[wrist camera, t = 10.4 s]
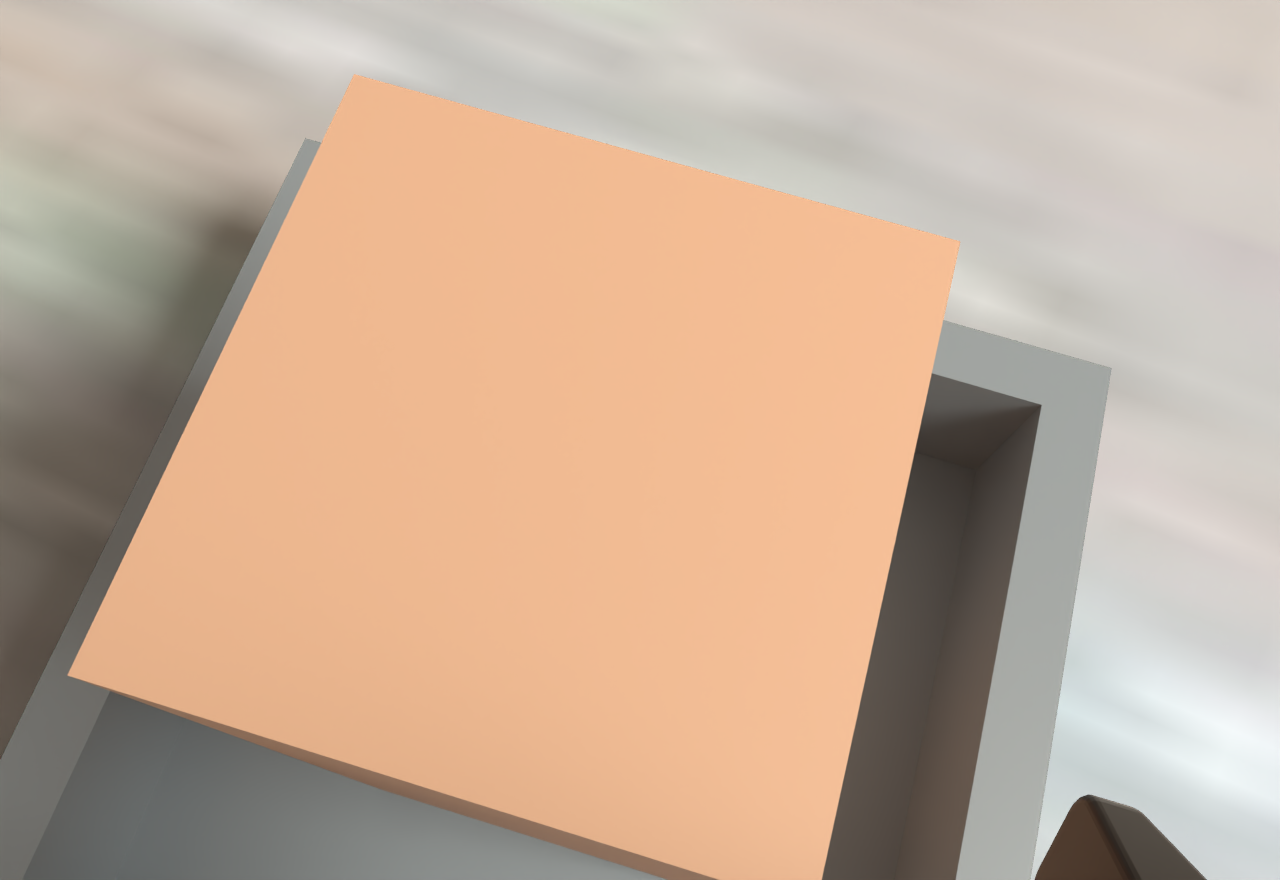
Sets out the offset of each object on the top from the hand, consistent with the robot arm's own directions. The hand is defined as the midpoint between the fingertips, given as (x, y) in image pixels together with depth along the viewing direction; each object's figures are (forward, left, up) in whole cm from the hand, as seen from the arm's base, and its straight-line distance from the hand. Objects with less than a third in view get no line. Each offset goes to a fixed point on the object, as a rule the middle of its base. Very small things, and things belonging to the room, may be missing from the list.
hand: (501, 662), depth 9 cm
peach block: (+1, 0, -11) cm, 11 cm away
